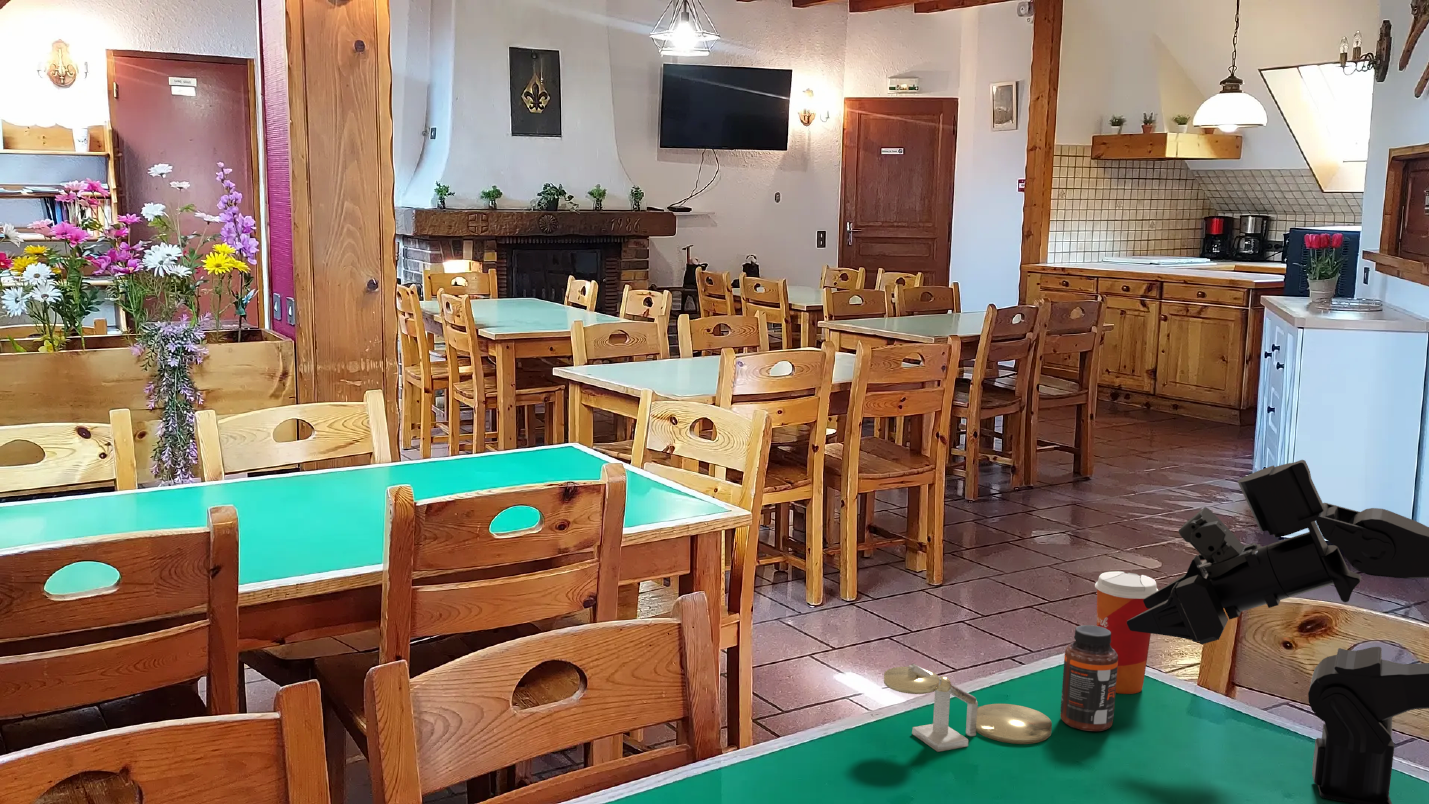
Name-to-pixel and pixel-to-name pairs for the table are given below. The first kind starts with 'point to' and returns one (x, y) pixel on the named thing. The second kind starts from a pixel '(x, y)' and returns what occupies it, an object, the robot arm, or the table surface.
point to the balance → (986, 720)
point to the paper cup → (1125, 624)
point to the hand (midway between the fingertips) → (1136, 614)
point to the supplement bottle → (1089, 680)
